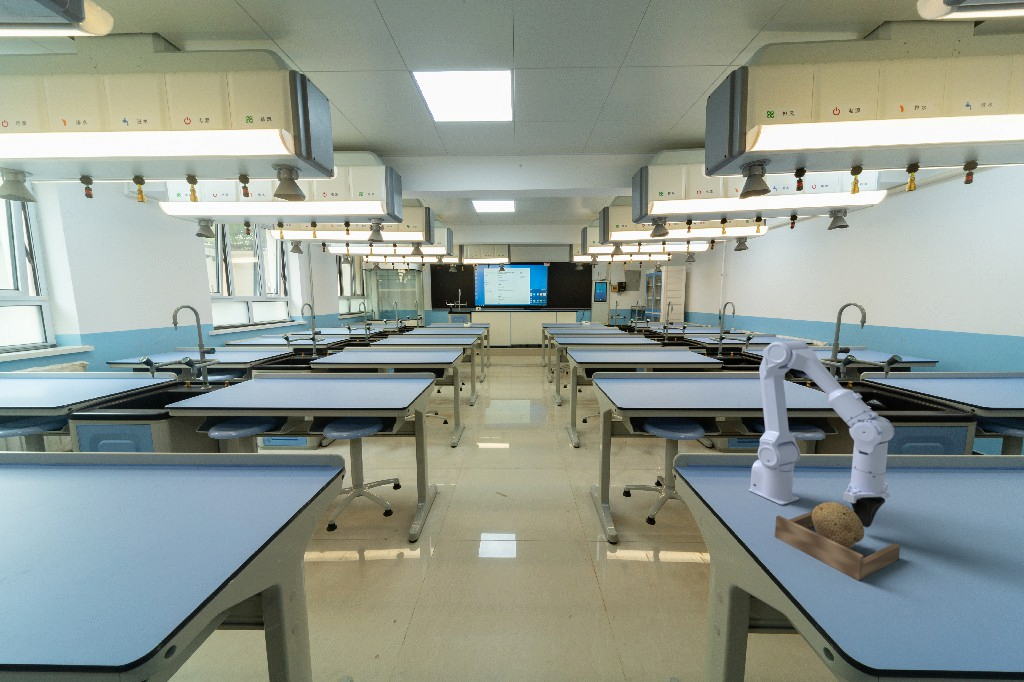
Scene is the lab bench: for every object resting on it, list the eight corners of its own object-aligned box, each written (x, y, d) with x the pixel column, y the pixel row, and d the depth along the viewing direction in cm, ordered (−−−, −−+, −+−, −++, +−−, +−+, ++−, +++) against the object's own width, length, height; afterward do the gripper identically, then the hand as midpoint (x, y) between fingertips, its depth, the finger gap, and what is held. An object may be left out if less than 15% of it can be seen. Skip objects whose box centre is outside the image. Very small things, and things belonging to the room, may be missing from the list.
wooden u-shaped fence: (774, 536, 91) (776, 516, 91) (815, 521, 98) (816, 502, 97) (858, 580, 77) (860, 556, 76) (898, 558, 83) (901, 536, 83)
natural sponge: (833, 533, 93) (837, 493, 92) (873, 557, 84) (878, 513, 83) (800, 536, 91) (803, 495, 90) (837, 561, 82) (841, 516, 81)
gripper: (873, 482, 84) (867, 541, 85) (906, 470, 90) (901, 526, 91) (835, 469, 90) (830, 525, 92) (868, 459, 96) (864, 511, 98)
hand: (863, 524), depth 92 cm, fingers closed
